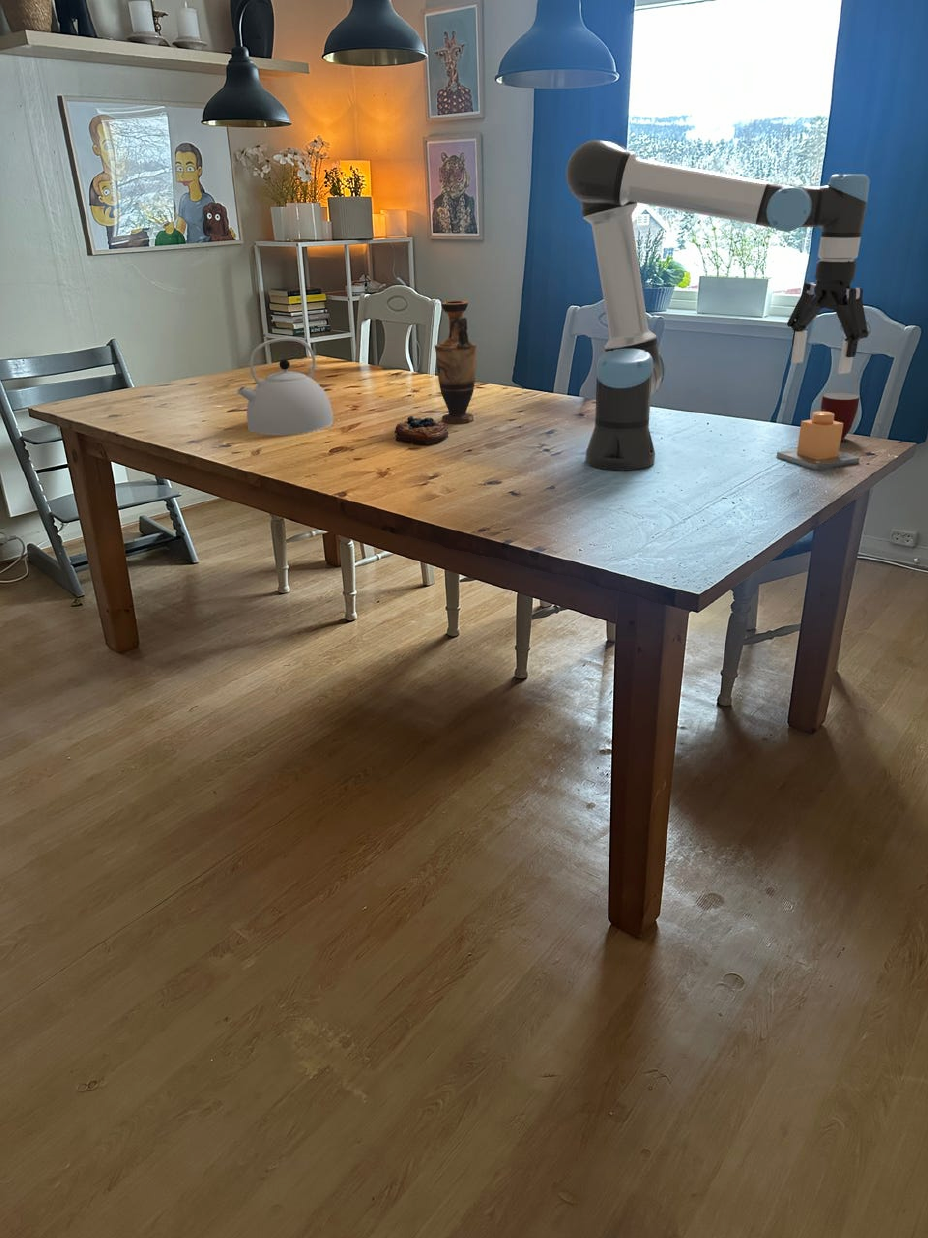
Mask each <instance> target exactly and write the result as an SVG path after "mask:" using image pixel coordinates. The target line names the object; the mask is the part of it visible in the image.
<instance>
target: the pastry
mask: <svg viewBox="0 0 928 1238" xmlns="http://www.w3.org/2000/svg"><path fill="white" fill-rule="evenodd" d="M394 434H395V435H394V437H395V438H394V439H395V442H400V443H405V444H410V443H413V444H412V445H417V444H418V445H417V446H427V447H428V446H433V445H436V444H438V443H442V442H444V441H445V440H447V439H448V438H449V431H448V425H447V423H445V422H443V421H435V419H434V418H433V417H424V418H422V417H416V418H415V417H414V416H413V415H410V416H408V417H407V420H406V421H404V422H399V423H398V424H397V425H396V426H395V429H394Z"/></svg>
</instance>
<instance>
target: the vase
mask: <svg viewBox="0 0 928 1238" xmlns="http://www.w3.org/2000/svg"><path fill="white" fill-rule="evenodd" d="M440 305H441V307H442V309H443V312H445V313H446V315H447V316H448V323H449V324H448V326H449V332H448V333H449V334H448V337H447V339H446V340H444V341H443V342H440V343H437V344H434V351H435V361H436V369H437V378H438V379H437V380H438V386H439V390H440V393H441V395H442V398H443V401H444V404H445V405H446V408H447V410H448V413H446V414H444V415H442V417H441V422H443V423H445V424H452V425H453V424H468V423H470V422H472V421H474V419H475V418H474V415H473V414H472V413H468V412H467V410H468V407H469V404H470V402H471V400H472V396H473V394H474V389H475V384H476V383H475V382H476V372H477V371H476V367H477V366H476V365H477V349H478V348H477V346H478V345H477V344H476V343H475V342H470V341H469V336H468V335H469V334H468V321H467V317H465V316H463V315H464V312H466V310H467V308H468V306H469V301H468V300H467V301H466V300H449V301H443V302H441V303H440Z"/></svg>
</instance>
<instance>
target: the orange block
mask: <svg viewBox="0 0 928 1238" xmlns="http://www.w3.org/2000/svg"><path fill="white" fill-rule="evenodd" d="M834 415H835V414H834V413H831V412H822V411H821V410H820V411H814V412H812V416H811V419H806V420H800V421H801V422H800V428H799V429H800V430H799V435H798V442H797V443H798V444H797V449H798V450H797V454H800V455H803V456H806V457H809V458H813V459H816V460H820V459H825V458H831V457H837V456H838V454H839V452H840V448H841V441H842V440H841V436H842V429H843V423H841V422H837V421H834Z"/></svg>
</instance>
